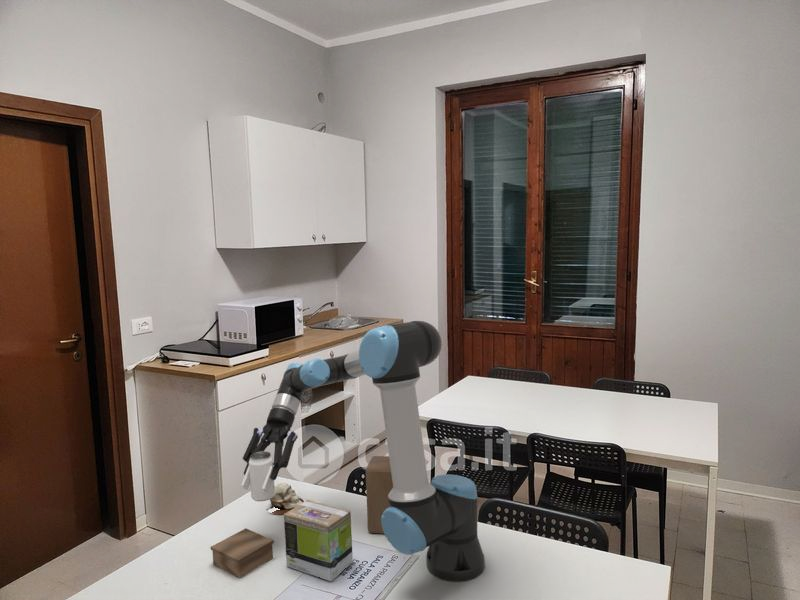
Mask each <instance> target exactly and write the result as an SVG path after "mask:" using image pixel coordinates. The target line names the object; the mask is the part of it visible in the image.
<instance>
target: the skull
mask: <svg viewBox="0 0 800 600" xmlns="http://www.w3.org/2000/svg"><path fill="white" fill-rule="evenodd" d="M274 486H275V495H274V496H273V498H271V499H269V501H270V503H271V506H274V507H275V508H278V509H280V510H276V511H274V512H272V513H273V514H272V515H284V514H285V513H287V512H288V511H290V510H292V509H293V508H295V507H297V506H298V505H300V504H302V503H303V502H305V500H304V499H303V498H301V497H300V495H298V494H297V493H296V491H295V489H293V488H292V486H291V485H290V484H289V483H287V482H280V483H277V484H276V485H274Z"/></svg>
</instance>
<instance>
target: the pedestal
mask: <svg viewBox="0 0 800 600" xmlns="http://www.w3.org/2000/svg"><path fill="white" fill-rule="evenodd" d="M274 542H275V541H274V539H272V538H270V537H267V536H265V535H262V534H260V533H258V532H255V531H253V530H250V529H248V528H243V529H241V530H240V531H238V532H236V533H234V534H232V535H230V536H229V537H227V538H225V539H223V540H221V541H219V542H217V543H216V544H214V545H211V546H210V550H211V552H212V562H213V563H212V564H213V566H216V567H217V568H220V569H221V570H223V571H225V572H227V573H229V574H231V575H233V576H235V577H236V578H239V579H241V578H242V577H244V576H246V575H248V574H250V573H251V572H253V571H254V570H256V569H258V568H259V567H261V566H262V565H264V564H266V563H267V562H269V561H271V560H272V559H274V551H273V550H274V547H273V545H274Z"/></svg>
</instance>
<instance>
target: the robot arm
mask: <svg viewBox="0 0 800 600" xmlns="http://www.w3.org/2000/svg"><path fill="white" fill-rule="evenodd" d="M442 342H443V341H442V337H441V334H440V332H439V331H438V329H437V328H436V326H433V324H431V323H429V322H426V321H423V320H411V321H407V322H400V323H395V324H394V323H393V324H388V325H386V324H385V325H382V326H379V327H375V328H372V329H369V330H368V331H367V332H366V333H365V334H364V336H363V338H362V339H361V341H360V344H359V347H358V348H359V349H357V350H355V351H353V352H350V353H347V354H344V355H340V356H335V357H331V358H325V359H320V358H313V359H311V360H307V361H306V362H305V363H300V362H295V363H294V362H292V363H289V364H288V366H286V367H287V368H286V370H285V371H284V372H283V377H282V380H281V381H280V385H279V387H278V390H277V393H276V395H275V397H274V400H273V403H272V405H271V409H270V410H269V414H268V416H267V419H266V424H265V425H263V427H262V428H258V427H254V428H253V433H252V437H251V439H250V441H249V443H248V445H247V448H246V450H245V452H244V454H243V456H242V460H243V461H244V462H245V463H246V465H245V468H244V471H243V475H244V476H243V480H242V482H241V485H240V486H241V487H242V488H243V489H244V490H246V491H247V490H249V488H250V474H249V460H250V455H252V454H253V453H256V452H262V451H265V450H266V449H267V448H268V447H269V446H270V445H271V444H274V451H273V452H274V453H273V454H274V455H273V463H272V464H273V466H271V467H270V469H269V471H268V473H267V476H266V479H265V482H264V484H263V487H262V489H263V490H264V491H265V492H268V493H269V490H270V488H271V485H272V482H273V480H274V481H276V479H277V477H278V474H279V472H280V470H281V469H286V468H287V467H288V466H289V462H290V458H291V455H292V451H293V449H294V445H295V442H296V441H297V439H298V437H299V436H298V434H296V432H295V431H291V428H292V427H293V425H294V422H295V418H296V417H295V416H296V415H297V413H298V409H299V408H300V404H301V401H302V399H303V396H304V394H305V393H306V392H309V391H310V390H312V389H315V388H319V387H323V386H326V385H327V386H328V385H330V384H334V383H339V382H344V381H348V380H353V379H357V378H360V377H362V376H365V375H366V376H368V378H371V379H372V384H373V385H374V386H375V387H376V388H378V389H379V392H380V399H381V400H380V401H381V407H382V413H383V415H382V416H383V422H384V423H383V424H384V429H385V430H384V431H385V436H386V437H385V438H386V443H387V451H388V456H389V459H390V467H391V474H392V481H393V489H392V490H391V491H390V493H389V494H388V498H389V506H390V507H389V508H387V509H386V510H385V511H384V512H383V514H382V517H381V523H382V528H383V531H384V535H385V537H386V540H387V541H388V542H389V544H390V545H391V546H392V547H393V548H394V549H395V550H396V551H397V552H399V553H401V554H403V555H406V556H412V555H414V554H416V553H419V552H423V551H424V550H426V548H428V549H427V552H426V556H425V557H426V558H425V559H426V561H425V563H426V568H427V570H428V571H429V572H430V574H431V575H434V577H436V578H439V579H442V580H443V581H444V580H445V581H450V582H463V581H469V580H472V579H474V578H477V577H478V576H480V575H481V574H482V573H483V572H484V570H485V566H486V565H485V554H484V552H483V549H482V546H481V543H480V540H479V538H478V497H479V496H478V493H477V486H476V484H475V482H474V481H473V480H472V479H470V478H468V477H465V476H462V475H457V474H449V473H448V474H439V475H435V476H434V477H432V478H431V483H430V481H429V479H428V470H427V464H426V456H425V448H424V441H423V434H422V433H423V432H422V428H421V427H422V426H421V420H420V419H421V418H420V412H419V403H418V398H417V397H418V396H417V391H416V384H417V382H418V381H419V380H420V378H421V373H420V368H422V367H425V366H428V365H430V364H431V363H433V362H434V361H436V359H437V358H438V357H439V355H440V353H441V350H442V348H443V347H442V345H443V343H442ZM285 439H286V441H285ZM284 441H285V443H284ZM284 444H285V445H284ZM283 447H284V449H283Z"/></svg>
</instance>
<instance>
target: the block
mask: <svg viewBox="0 0 800 600" xmlns="http://www.w3.org/2000/svg"><path fill="white" fill-rule="evenodd" d="M365 489H366V490H365V492H366V493H365V494H366V514H367V515H366V516H367V517H366V518H367V519H366V520H367V521H366V522H367V530H368V532H369V533H371V534H384V531H383V528H382V523H381V517H382V514H383V512H384V511H385V510H386V509H387V508H389V507H390V506H389V498H388V494H389V493H390V491H391V490H392V489H393V481H392V474H391V467H390V459H389V455H388V456H385V455H383V456H382V455H373V456H372V457H371V459H370V460H369V462H368V464H367V466H366V468H365ZM384 535H385V534H384Z"/></svg>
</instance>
